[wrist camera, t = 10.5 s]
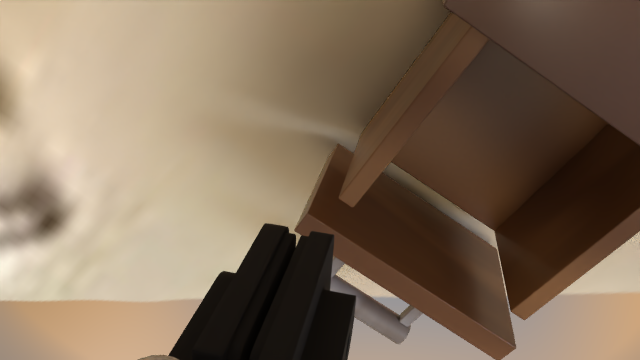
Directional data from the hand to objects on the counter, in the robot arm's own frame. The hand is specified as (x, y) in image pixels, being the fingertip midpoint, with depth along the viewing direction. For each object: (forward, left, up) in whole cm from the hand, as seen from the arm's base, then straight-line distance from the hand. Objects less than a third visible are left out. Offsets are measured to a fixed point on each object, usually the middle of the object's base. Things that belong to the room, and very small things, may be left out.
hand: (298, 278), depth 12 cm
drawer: (-6, +1, -16) cm, 17 cm away
